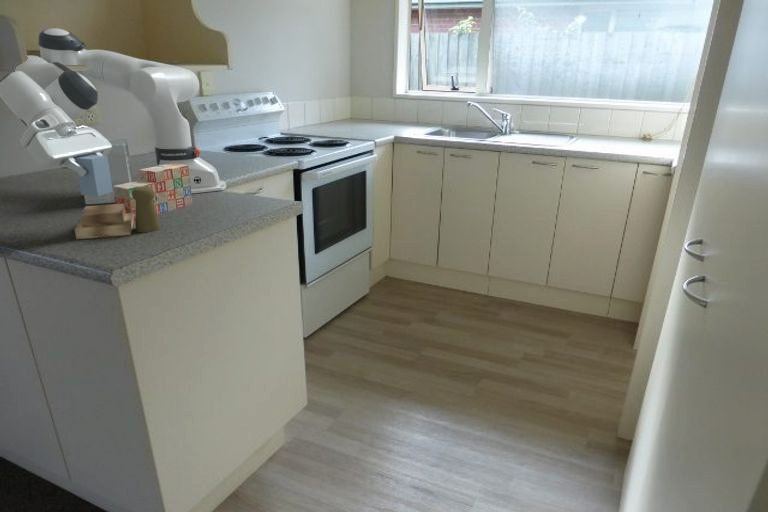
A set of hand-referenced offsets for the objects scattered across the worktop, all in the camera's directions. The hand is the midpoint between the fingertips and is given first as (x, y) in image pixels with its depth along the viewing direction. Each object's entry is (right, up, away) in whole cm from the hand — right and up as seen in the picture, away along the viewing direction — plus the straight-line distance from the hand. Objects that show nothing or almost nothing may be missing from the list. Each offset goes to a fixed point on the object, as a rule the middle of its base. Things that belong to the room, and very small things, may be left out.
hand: (95, 171), depth 129 cm
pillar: (-1, -5, +2) cm, 5 cm away
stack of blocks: (+5, -8, +23) cm, 25 cm away
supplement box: (-15, -3, +36) cm, 38 cm away
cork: (+10, -14, +7) cm, 18 cm away
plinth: (0, -14, +6) cm, 15 cm away
